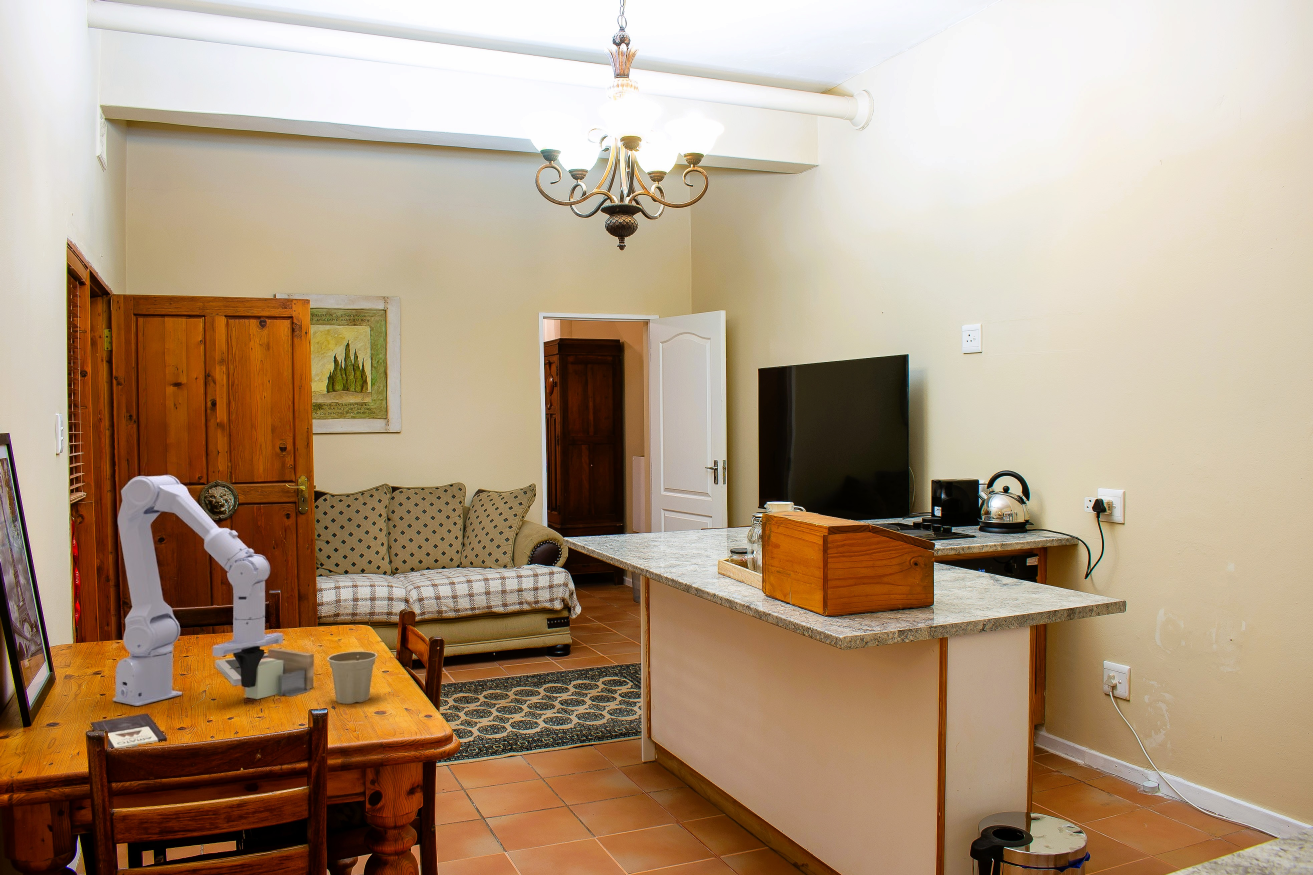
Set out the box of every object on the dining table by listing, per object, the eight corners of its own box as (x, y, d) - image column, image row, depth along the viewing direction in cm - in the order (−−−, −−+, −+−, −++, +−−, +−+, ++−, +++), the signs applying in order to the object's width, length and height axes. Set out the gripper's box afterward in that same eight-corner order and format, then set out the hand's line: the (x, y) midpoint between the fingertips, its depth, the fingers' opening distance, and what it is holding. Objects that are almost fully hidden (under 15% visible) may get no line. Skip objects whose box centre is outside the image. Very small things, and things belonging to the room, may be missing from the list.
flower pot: (323, 707, 174) (323, 662, 174) (330, 694, 183) (331, 651, 183) (374, 705, 176) (374, 660, 176) (379, 692, 185) (379, 650, 185)
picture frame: (311, 678, 199) (287, 660, 216) (311, 665, 199) (287, 648, 216) (233, 689, 190) (215, 669, 207) (233, 675, 190) (215, 656, 207)
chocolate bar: (147, 713, 168) (166, 737, 154) (147, 718, 168) (166, 743, 154) (90, 722, 162) (105, 748, 148) (90, 727, 162) (105, 754, 148)
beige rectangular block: (257, 698, 179) (258, 665, 180) (244, 696, 181) (246, 663, 181) (282, 692, 185) (283, 660, 185) (270, 690, 186) (271, 658, 186)
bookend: (288, 697, 181) (288, 676, 181) (278, 695, 183) (278, 675, 183) (312, 690, 187) (312, 670, 187) (302, 688, 188) (302, 668, 188)
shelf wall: (307, 689, 187) (307, 655, 187) (267, 681, 193) (268, 648, 193) (313, 687, 189) (313, 653, 189) (273, 680, 194) (274, 647, 194)
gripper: (229, 625, 172) (229, 697, 171) (293, 613, 184) (293, 680, 184) (205, 622, 175) (205, 692, 175) (269, 610, 188) (269, 676, 187)
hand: (248, 686), depth 180 cm, fingers closed, pressing on beige rectangular block
